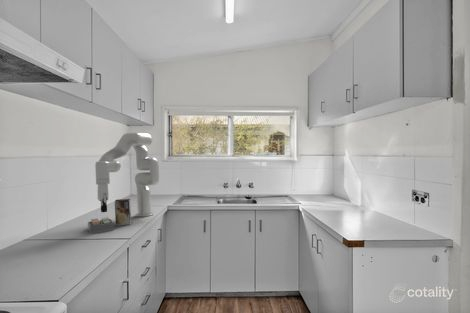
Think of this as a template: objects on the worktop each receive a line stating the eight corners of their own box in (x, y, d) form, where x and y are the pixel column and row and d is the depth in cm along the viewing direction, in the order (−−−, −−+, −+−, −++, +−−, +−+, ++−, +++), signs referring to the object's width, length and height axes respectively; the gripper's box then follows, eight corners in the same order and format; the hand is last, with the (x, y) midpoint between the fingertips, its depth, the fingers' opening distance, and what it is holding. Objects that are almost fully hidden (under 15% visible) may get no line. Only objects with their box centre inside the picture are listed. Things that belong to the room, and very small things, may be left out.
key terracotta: (92, 226, 187) (92, 220, 187) (98, 225, 189) (98, 220, 188) (93, 227, 184) (92, 221, 184) (99, 226, 185) (99, 221, 185)
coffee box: (131, 222, 207) (130, 198, 207) (130, 224, 201) (129, 200, 200) (117, 223, 205) (116, 199, 205) (115, 226, 199) (114, 200, 199)
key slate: (91, 224, 192) (90, 219, 192) (97, 223, 194) (97, 218, 194) (91, 225, 189) (91, 220, 189) (98, 225, 191) (98, 219, 191)
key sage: (103, 227, 190) (103, 221, 190) (109, 226, 192) (109, 220, 192) (104, 228, 187) (104, 222, 187) (110, 227, 189) (110, 221, 189)
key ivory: (101, 223, 195) (101, 217, 195) (107, 222, 197) (107, 216, 197) (102, 224, 192) (102, 218, 192) (108, 223, 194) (108, 217, 194)
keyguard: (88, 229, 193) (87, 221, 192) (110, 225, 199) (110, 218, 199) (90, 233, 181) (90, 225, 181) (114, 230, 188) (113, 222, 188)
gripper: (94, 181, 192) (95, 210, 193) (97, 183, 180) (99, 214, 180) (107, 180, 196) (108, 209, 197) (111, 181, 184) (113, 213, 184)
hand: (104, 211), depth 188 cm, fingers closed
